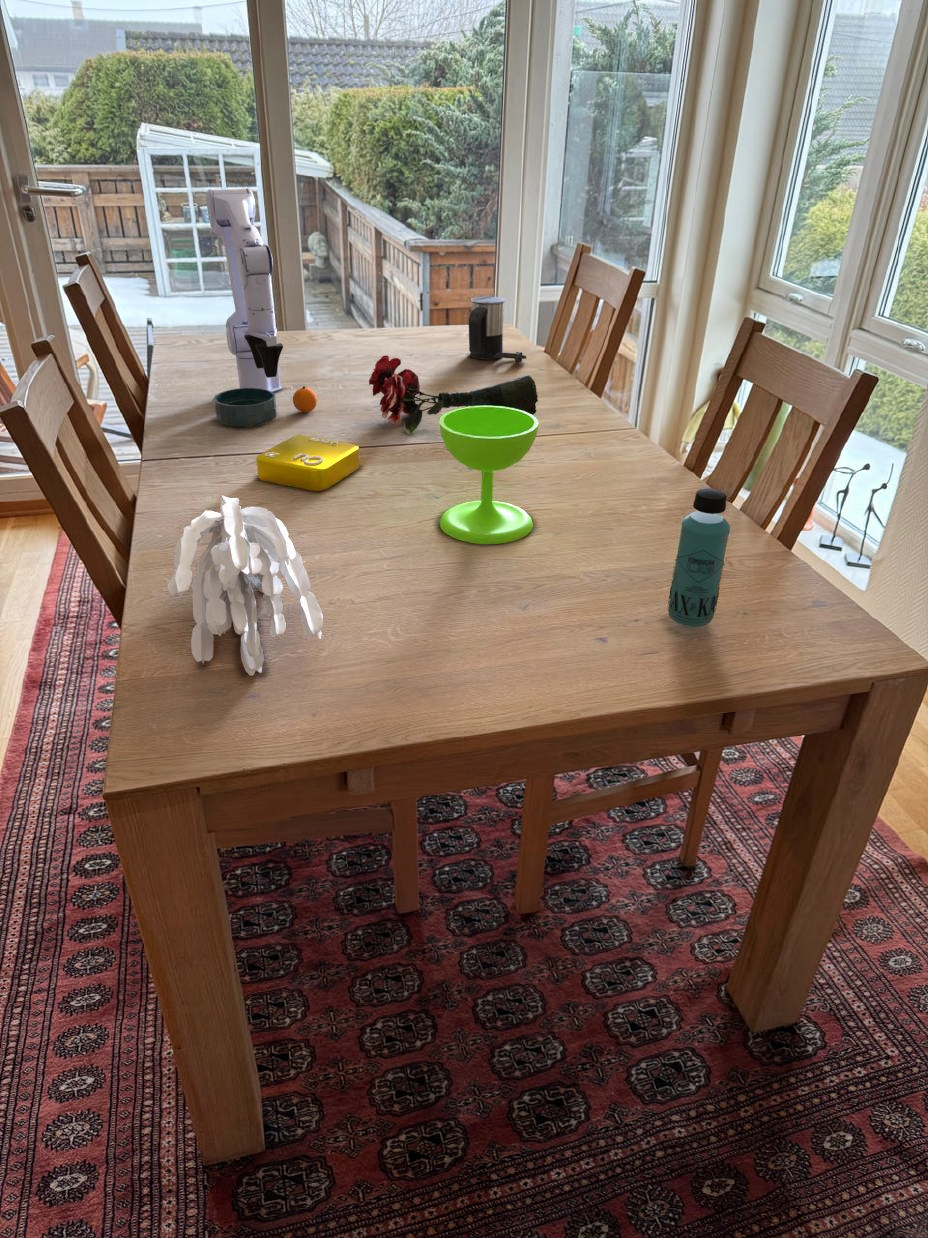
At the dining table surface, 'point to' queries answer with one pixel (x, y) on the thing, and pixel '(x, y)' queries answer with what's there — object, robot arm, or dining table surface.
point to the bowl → (245, 407)
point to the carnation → (442, 394)
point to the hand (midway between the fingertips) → (266, 372)
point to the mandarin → (304, 399)
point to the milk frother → (488, 329)
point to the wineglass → (487, 470)
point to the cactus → (241, 579)
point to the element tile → (308, 462)
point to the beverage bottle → (699, 560)
